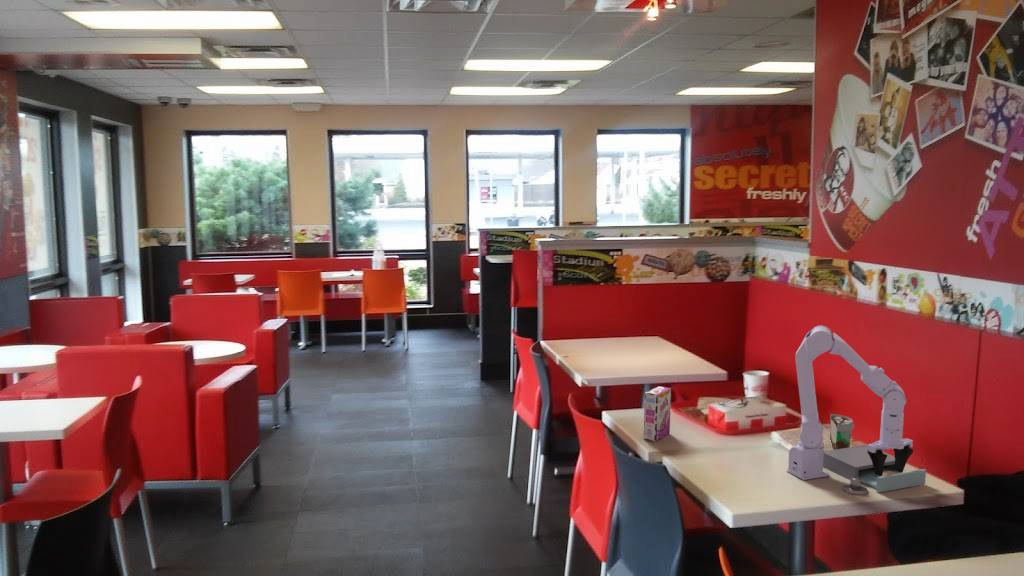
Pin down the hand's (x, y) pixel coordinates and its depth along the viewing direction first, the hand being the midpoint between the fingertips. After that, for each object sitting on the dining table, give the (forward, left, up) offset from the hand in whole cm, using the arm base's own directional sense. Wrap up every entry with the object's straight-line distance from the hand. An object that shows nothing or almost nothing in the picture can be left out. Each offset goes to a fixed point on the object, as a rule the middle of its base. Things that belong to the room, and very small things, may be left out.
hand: (888, 473), depth 230 cm
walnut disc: (0, 0, -2) cm, 2 cm away
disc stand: (-13, -1, -3) cm, 13 cm away
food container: (+8, +27, -3) cm, 28 cm away
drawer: (0, +2, -3) cm, 3 cm away
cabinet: (0, +11, -3) cm, 11 cm away
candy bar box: (-41, +60, -3) cm, 73 cm away
